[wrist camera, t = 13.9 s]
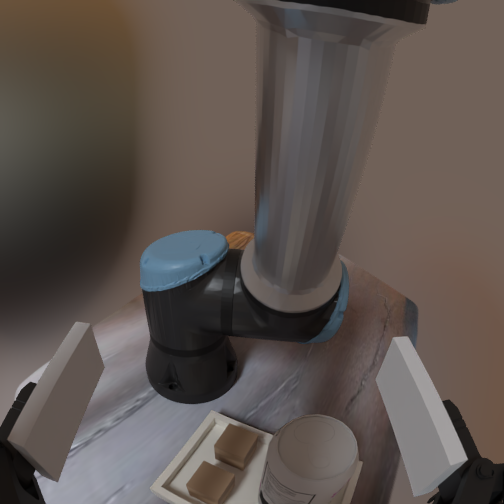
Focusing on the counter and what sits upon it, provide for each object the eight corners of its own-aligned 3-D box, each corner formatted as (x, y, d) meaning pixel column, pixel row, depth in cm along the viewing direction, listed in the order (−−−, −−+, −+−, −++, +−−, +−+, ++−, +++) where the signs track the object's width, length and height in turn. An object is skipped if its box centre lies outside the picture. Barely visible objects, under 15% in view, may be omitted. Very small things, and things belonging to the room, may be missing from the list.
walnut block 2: (215, 458, 34) (213, 445, 32) (229, 437, 37) (229, 423, 35) (243, 471, 32) (244, 458, 31) (256, 448, 36) (258, 434, 34)
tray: (153, 493, 28) (149, 487, 27) (212, 418, 41) (211, 410, 40) (322, 562, 20) (327, 560, 19) (357, 468, 33) (363, 461, 32)
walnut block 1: (189, 495, 28) (185, 484, 27) (205, 472, 32) (203, 460, 30) (219, 509, 27) (217, 500, 25) (234, 485, 30) (234, 474, 28)
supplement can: (255, 474, 32) (265, 411, 25) (319, 469, 32) (352, 405, 26) (259, 528, 25) (273, 491, 18) (329, 521, 25) (374, 476, 19)
